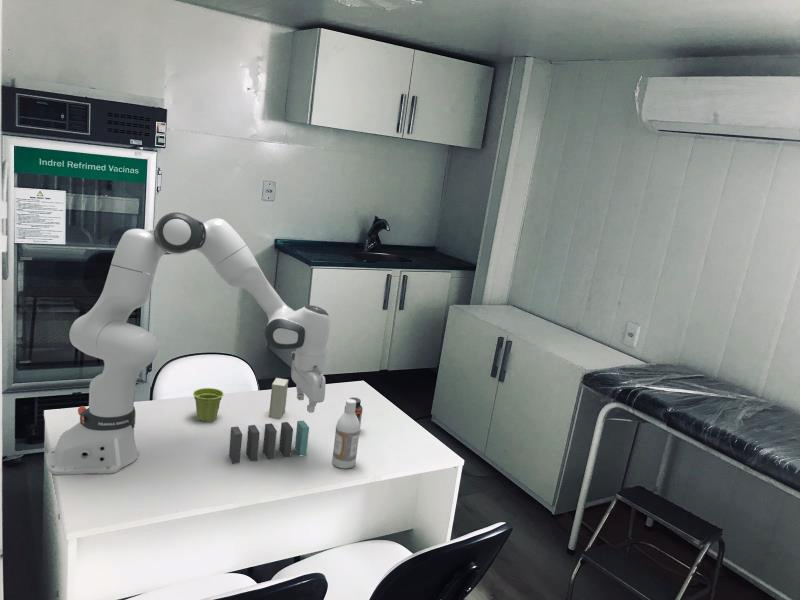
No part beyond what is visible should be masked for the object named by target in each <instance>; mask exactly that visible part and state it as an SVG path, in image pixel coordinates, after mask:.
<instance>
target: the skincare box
mask: <svg viewBox="0 0 800 600" xmlns="http://www.w3.org/2000/svg"><path fill="white" fill-rule="evenodd" d="M288 385H289V379H287V378H280V377H275V379H274V381H273V382H272V384H271V394H270V403H269V413H268V418H273V419H279V420H282V418H283V417H284V415H285V412H286V404H287V395H288Z"/></svg>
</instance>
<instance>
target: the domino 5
mask: <svg viewBox="0 0 800 600" xmlns="http://www.w3.org/2000/svg"><path fill="white" fill-rule="evenodd" d="M296 421H297V423H296V431H295V441H294V450H295V449H296V450H295V451H296V452H297V454H298V456H300V455H304V456H307V451H308V443H309V433H310V426H309V425H308V424H307V423H306V422H305V420H296Z"/></svg>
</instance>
